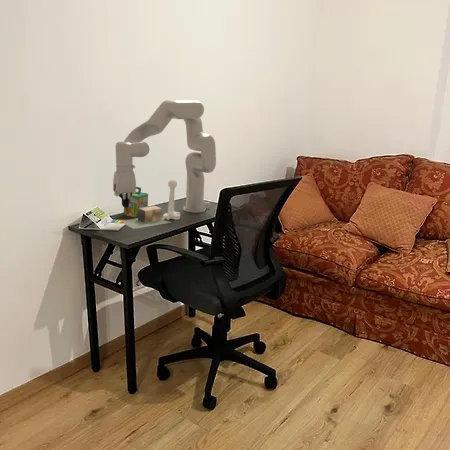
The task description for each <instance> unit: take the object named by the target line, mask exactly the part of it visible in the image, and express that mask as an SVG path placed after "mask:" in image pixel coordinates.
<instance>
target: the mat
mask: <svg viewBox="0 0 450 450" xmlns="http://www.w3.org/2000/svg"><path fill="white" fill-rule="evenodd" d="M122 221H125V223H124V225H126V226H127V227H129V228H131V229H133V230H135V229H141V228H142V229H143V228H147V227H153V226H159V225H164V224H172V222H171V221H169V220H167V219H165V220H163V217H162V220H159V221H153V222H147V223H143V222H141V221H139V220H138V218H136V217H133V218H129V219H123V220H122Z"/></svg>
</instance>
